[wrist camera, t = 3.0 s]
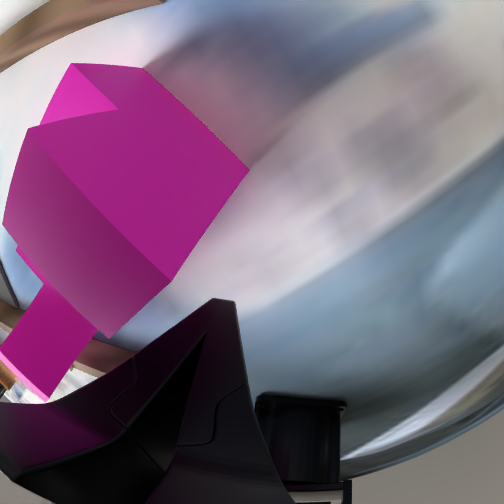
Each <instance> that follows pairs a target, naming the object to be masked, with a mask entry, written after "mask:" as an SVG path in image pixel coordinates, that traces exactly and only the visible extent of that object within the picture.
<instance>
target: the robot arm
mask: <svg viewBox="0 0 504 504" xmlns="http://www.w3.org/2000/svg"><path fill="white" fill-rule="evenodd" d="M346 411H347V403H346V402H336V401H316V400H303V399H291V398H282V397H273V396H265V395H260V396H257V397H256V402H255V410H254V408H253V403H252V399H251V394H250V388H249V384H248V377H247V372H246V366H245V360H244V354H243V348H242V341H241V335H240V329H239V323H238V316H237V310H236V304H235V302H234V301H231V300H224V299H217V298H212V299H210V300H209V301H208V302H206V303H205V304H204V305H202V306H201V307H199V308H198V309H197V310H195V311H194V312H193V313H191V314H190V315H188V316H187V317H186V318H184V319H183V320H182V321H180V322H179V323H177V324H176V325H175V326H173V327H172V328H171V329H169V330H168V331H166V332H165V333H164V334H162V335H161V336H159V337H158V338H157V339H155V340H154V341H152V342H151V343H150V344H148V345H147V346H146V347H144V348H143V349H141V350H140V351H139V352H137V353H136V354H134V355H133V357H130V358H129V359H127V360H126V361H124V362H123V363H121V364H120V365H118V366H117V367H115V368H114V369H112V370H111V371H109V372H108V373H106V374H104V375H103V376H101V377H99V378H98V379H96V380H94V381H92V382H91V383H89V384H87V385H85V386H83V387H81V388H79V389H78V390H76V391H74V392H72V393H70V394H68V395H66V396H64V397H63V398H60V399H58V400H56V401H53V402H49V403H44V404H23V403H6V402H0V504H331V502H310V503H295V501H320V500H322V501H323V500H339V499H341V504H352V480H344V481H343V482H339V481H340V420H341V418H342V417H343V415H344V414H345V412H346Z"/></svg>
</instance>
